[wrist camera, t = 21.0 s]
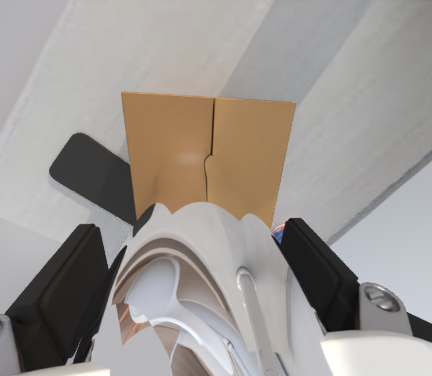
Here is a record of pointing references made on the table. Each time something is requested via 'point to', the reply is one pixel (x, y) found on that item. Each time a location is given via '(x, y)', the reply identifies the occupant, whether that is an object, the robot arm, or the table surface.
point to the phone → (96, 176)
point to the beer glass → (203, 289)
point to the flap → (253, 149)
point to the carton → (163, 135)
